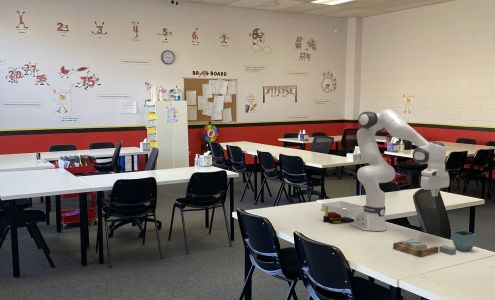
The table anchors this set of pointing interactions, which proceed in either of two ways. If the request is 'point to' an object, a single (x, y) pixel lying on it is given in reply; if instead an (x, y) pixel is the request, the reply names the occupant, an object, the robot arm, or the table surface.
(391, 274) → the table surface
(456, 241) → the flower pot
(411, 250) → the bay
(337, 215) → the fire station toy set
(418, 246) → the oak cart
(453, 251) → the block
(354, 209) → the toy storage tray
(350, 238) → the table surface
